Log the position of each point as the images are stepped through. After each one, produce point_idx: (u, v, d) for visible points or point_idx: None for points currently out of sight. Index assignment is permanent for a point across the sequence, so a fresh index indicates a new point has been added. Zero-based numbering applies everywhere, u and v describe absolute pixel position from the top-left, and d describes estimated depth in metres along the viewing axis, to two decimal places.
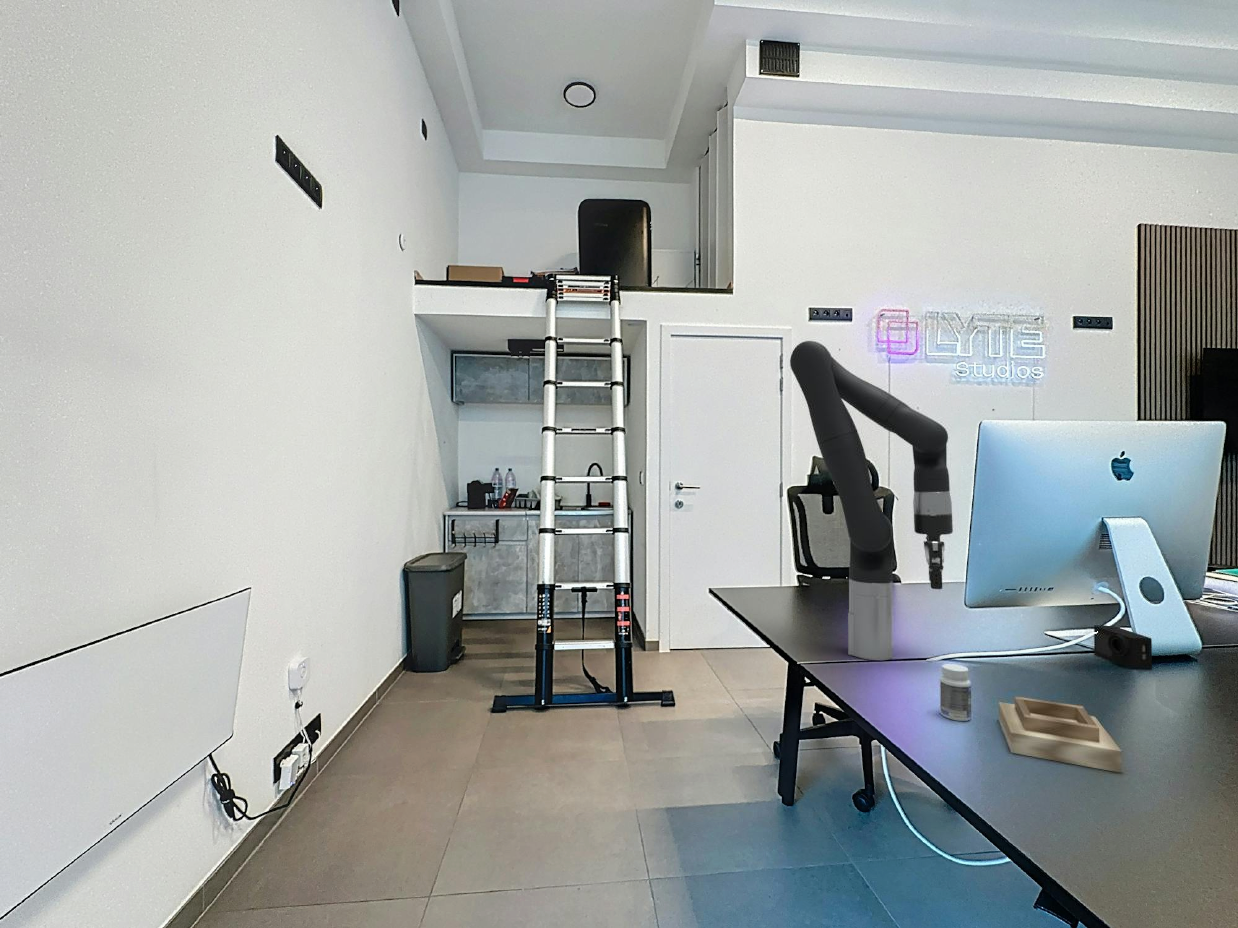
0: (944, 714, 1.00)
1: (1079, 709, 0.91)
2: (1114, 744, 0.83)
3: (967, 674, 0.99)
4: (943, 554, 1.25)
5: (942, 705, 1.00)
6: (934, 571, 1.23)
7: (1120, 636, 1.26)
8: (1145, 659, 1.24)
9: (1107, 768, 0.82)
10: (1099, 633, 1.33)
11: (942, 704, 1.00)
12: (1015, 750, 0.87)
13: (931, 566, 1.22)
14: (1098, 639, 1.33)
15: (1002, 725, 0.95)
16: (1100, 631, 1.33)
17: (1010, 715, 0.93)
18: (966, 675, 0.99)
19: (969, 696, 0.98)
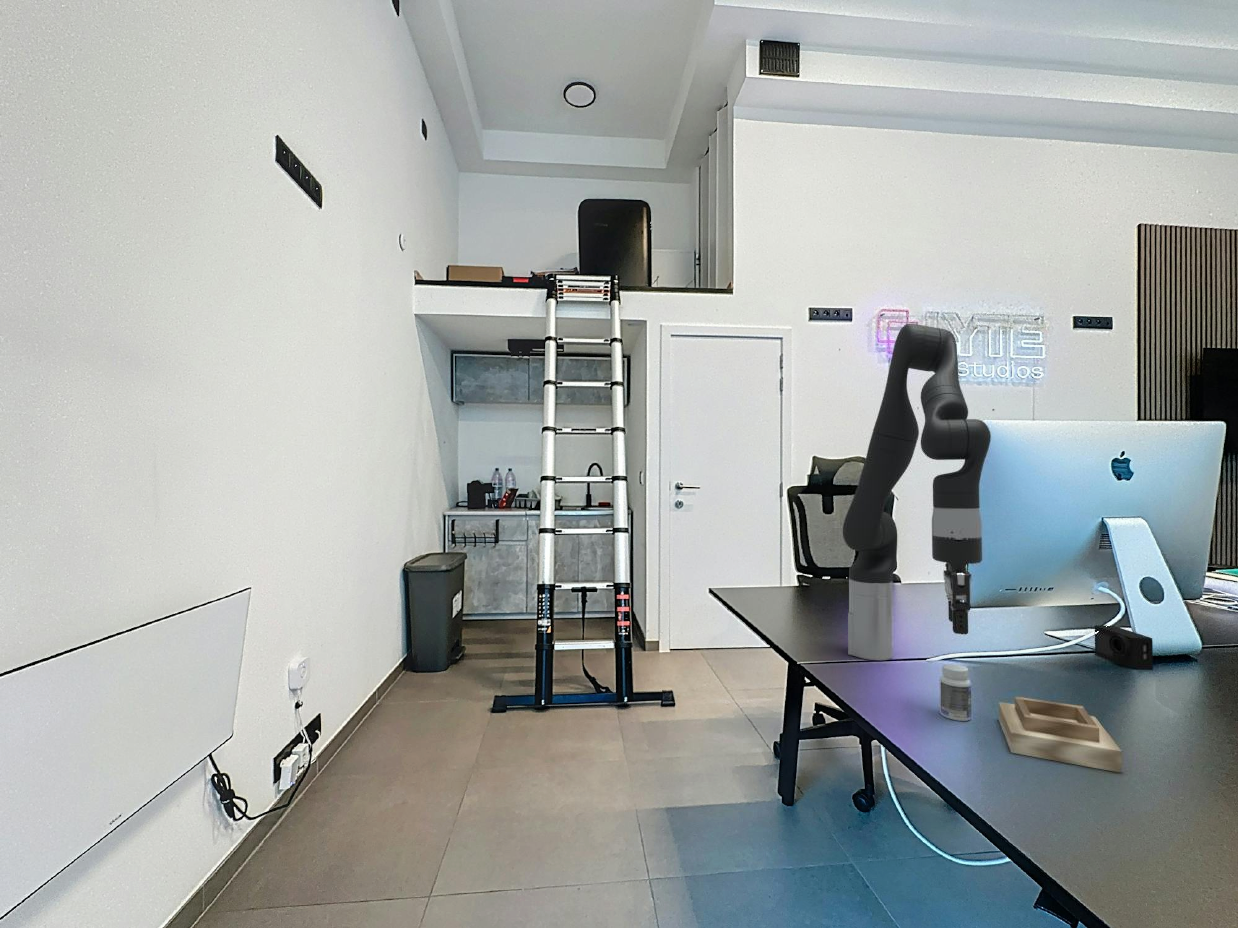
0: (944, 714, 1.00)
1: (1079, 709, 0.91)
2: (1114, 744, 0.83)
3: (967, 674, 0.99)
4: (970, 589, 0.97)
5: (942, 705, 1.00)
6: (958, 611, 0.96)
7: (1121, 636, 1.26)
8: (1146, 659, 1.24)
9: (1107, 768, 0.82)
10: (1100, 633, 1.33)
11: (942, 704, 1.00)
12: (1015, 750, 0.87)
13: (955, 605, 0.95)
14: (1099, 639, 1.33)
15: (1002, 725, 0.95)
16: (1101, 631, 1.33)
17: (1010, 715, 0.93)
18: (966, 675, 0.99)
19: (969, 696, 0.98)
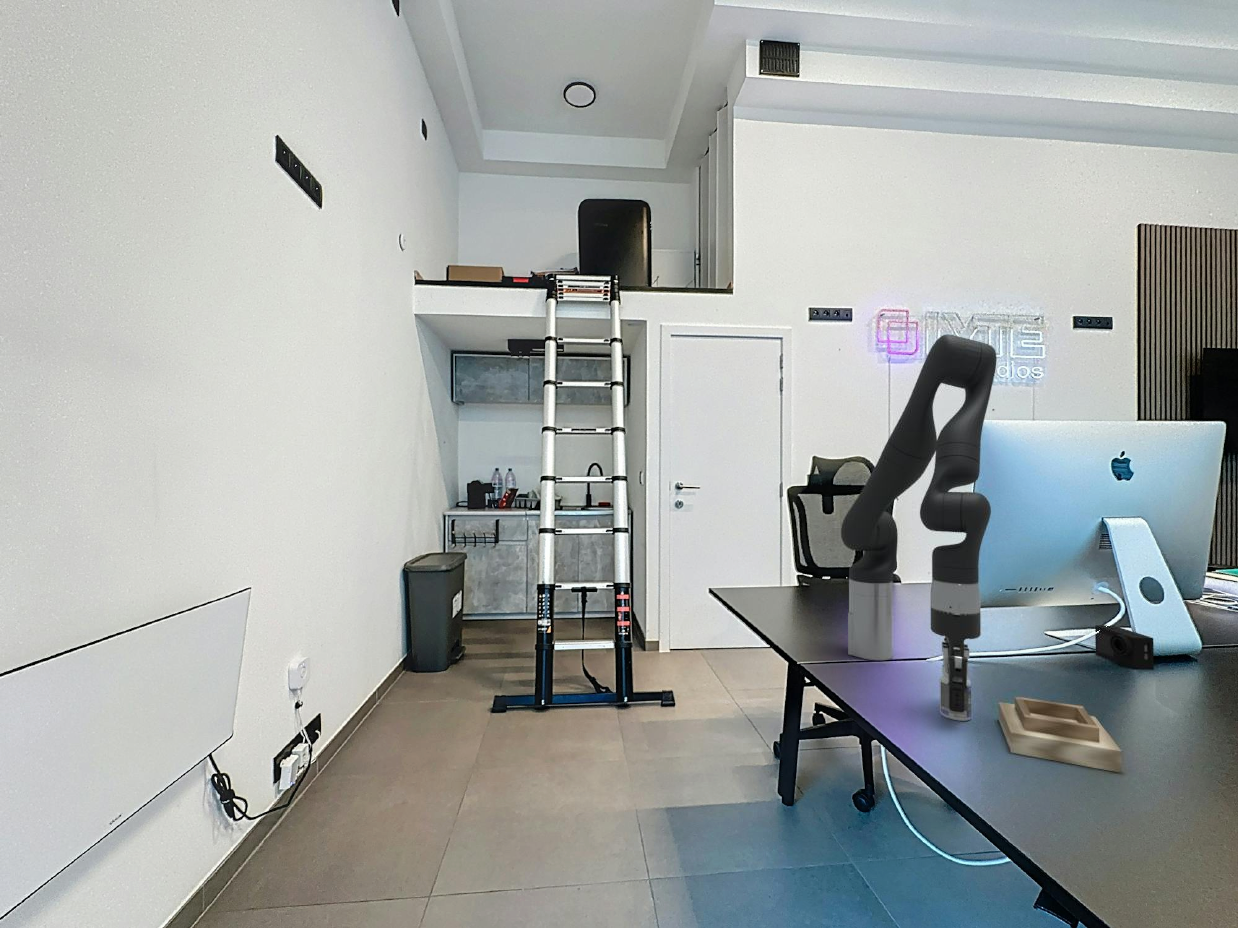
0: (944, 714, 1.00)
1: (1079, 709, 0.91)
2: (1114, 744, 0.83)
3: None
4: (967, 667, 0.97)
5: (942, 705, 1.00)
6: (955, 690, 0.97)
7: (1122, 636, 1.26)
8: (1147, 659, 1.25)
9: (1107, 768, 0.82)
10: (1100, 633, 1.33)
11: (942, 704, 1.00)
12: (1015, 750, 0.87)
13: (951, 686, 0.96)
14: (1099, 639, 1.33)
15: (1002, 725, 0.95)
16: (1102, 631, 1.33)
17: (1010, 715, 0.93)
18: None
19: (969, 696, 0.98)
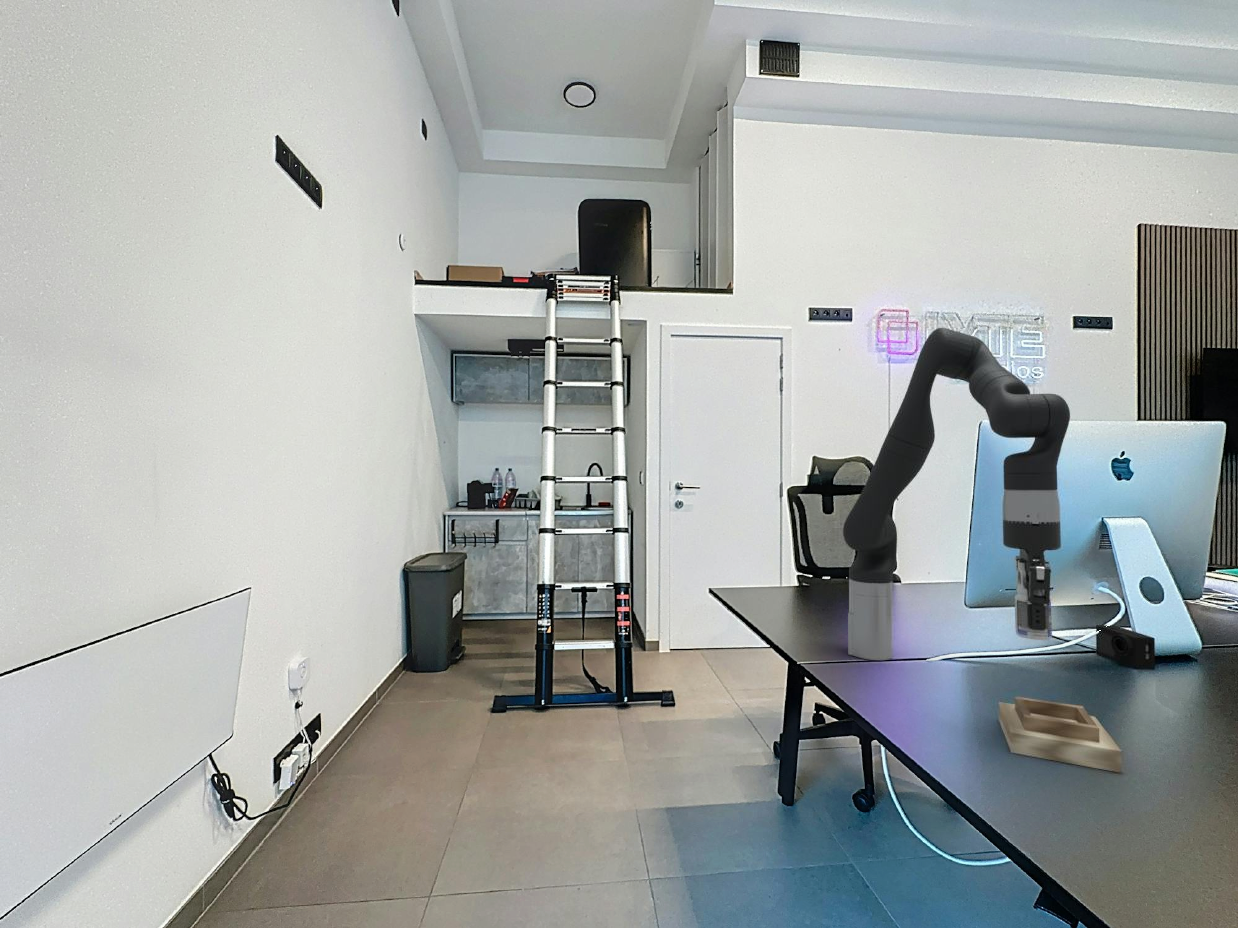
0: (1022, 634, 0.92)
1: (1079, 709, 0.91)
2: (1114, 744, 0.83)
3: None
4: None
5: (1019, 625, 0.92)
6: (1035, 605, 0.89)
7: (1123, 636, 1.27)
8: (1148, 659, 1.25)
9: (1107, 768, 0.82)
10: (1101, 633, 1.33)
11: (1019, 624, 0.92)
12: (1015, 750, 0.87)
13: (1032, 600, 0.88)
14: (1100, 639, 1.33)
15: (1002, 725, 0.95)
16: (1103, 631, 1.33)
17: (1010, 715, 0.93)
18: None
19: (1050, 613, 0.90)
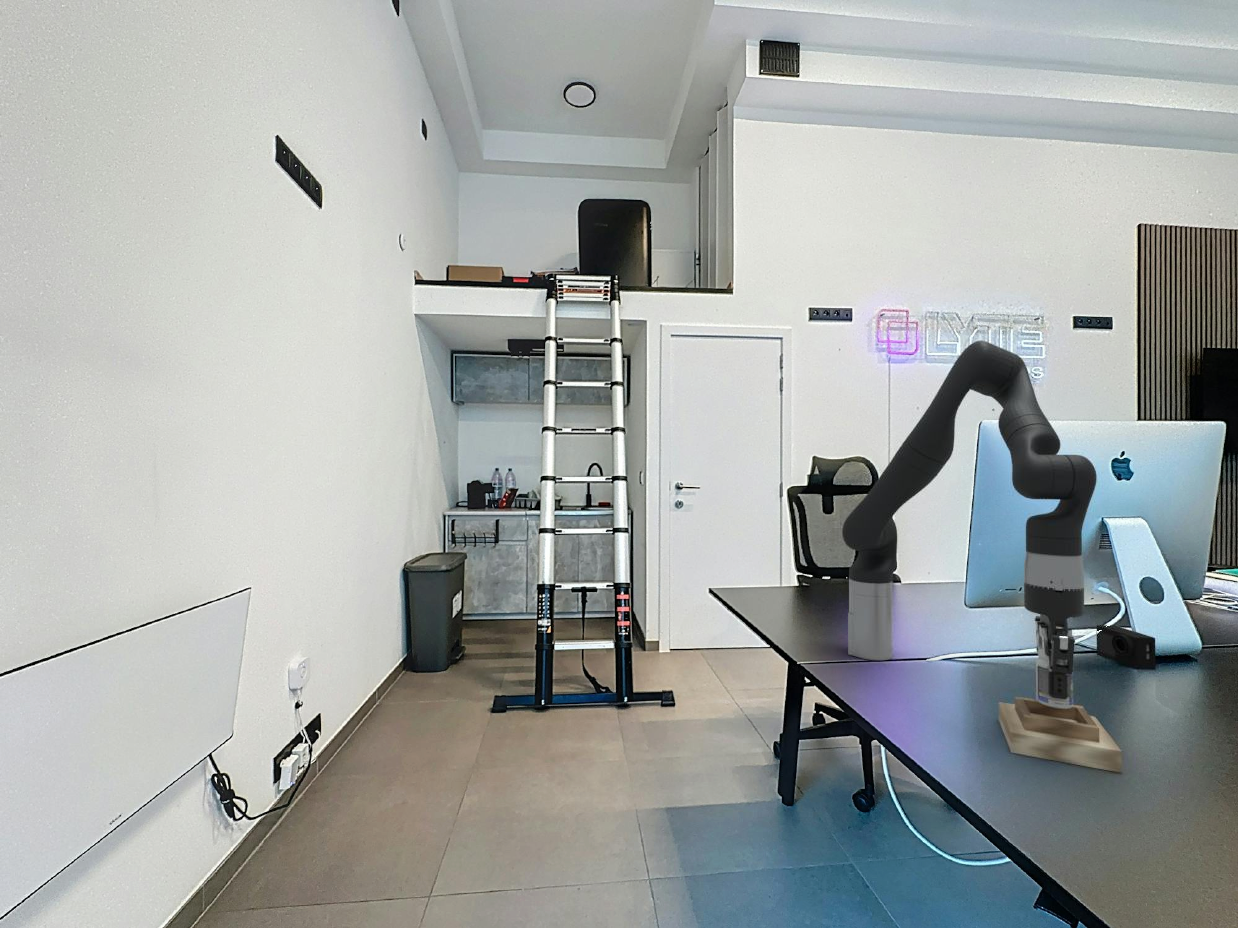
0: (1042, 701, 0.90)
1: (1079, 709, 0.91)
2: (1114, 744, 0.83)
3: None
4: None
5: (1040, 691, 0.90)
6: (1057, 674, 0.87)
7: (1124, 636, 1.27)
8: (1149, 659, 1.25)
9: (1107, 768, 0.82)
10: (1102, 633, 1.33)
11: (1040, 690, 0.90)
12: (1015, 750, 0.87)
13: (1055, 669, 0.86)
14: (1101, 639, 1.33)
15: (1002, 725, 0.95)
16: (1103, 631, 1.33)
17: (1010, 715, 0.93)
18: None
19: (1071, 681, 0.88)
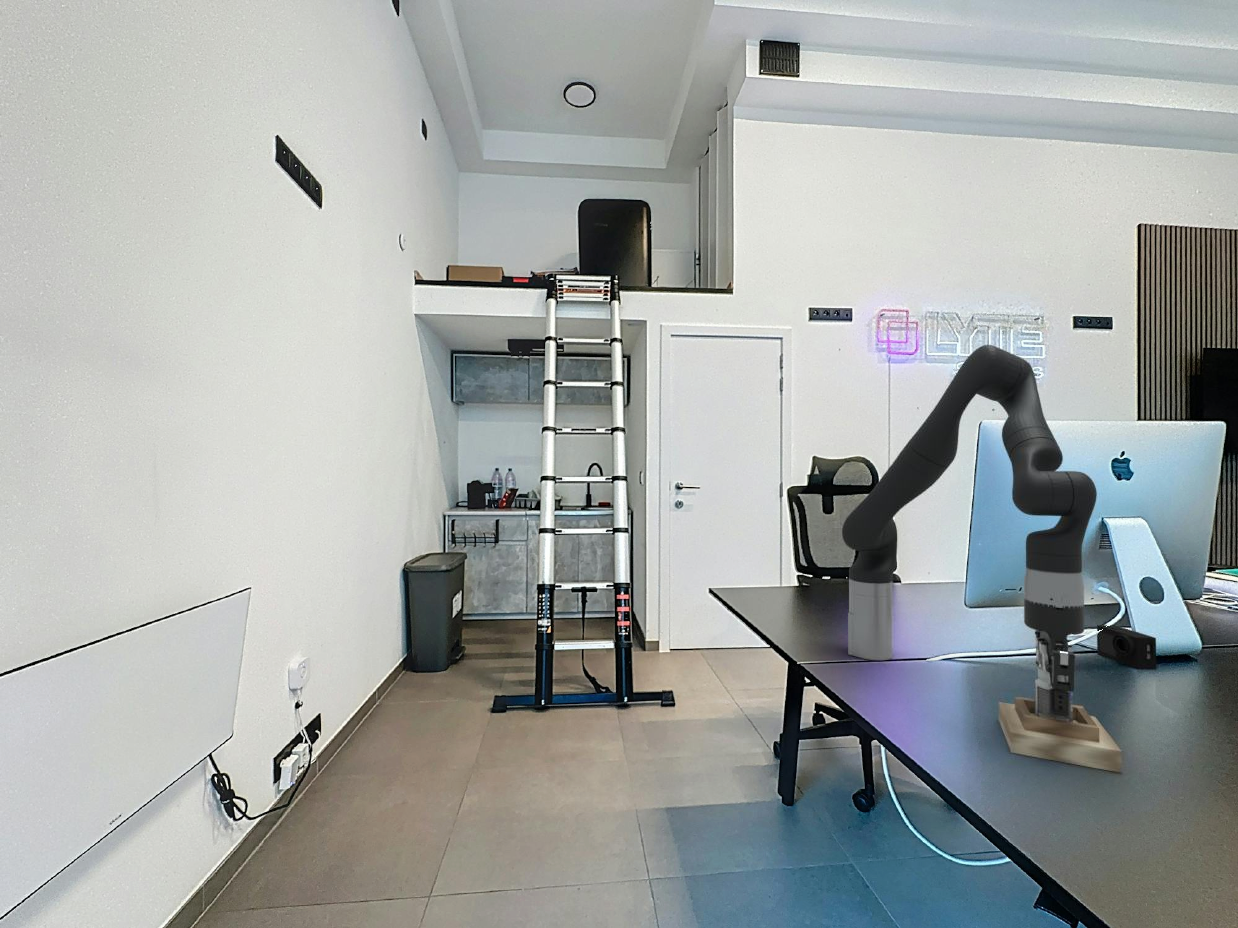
0: None
1: (1079, 709, 0.91)
2: (1114, 744, 0.83)
3: None
4: None
5: (1039, 712, 0.90)
6: (1058, 691, 0.86)
7: (1125, 636, 1.27)
8: (1150, 659, 1.25)
9: (1107, 768, 0.82)
10: (1102, 633, 1.33)
11: (1040, 711, 0.90)
12: (1015, 750, 0.87)
13: (1056, 686, 0.85)
14: (1101, 639, 1.33)
15: (1002, 725, 0.95)
16: (1104, 631, 1.33)
17: (1010, 715, 0.93)
18: None
19: (1071, 702, 0.88)
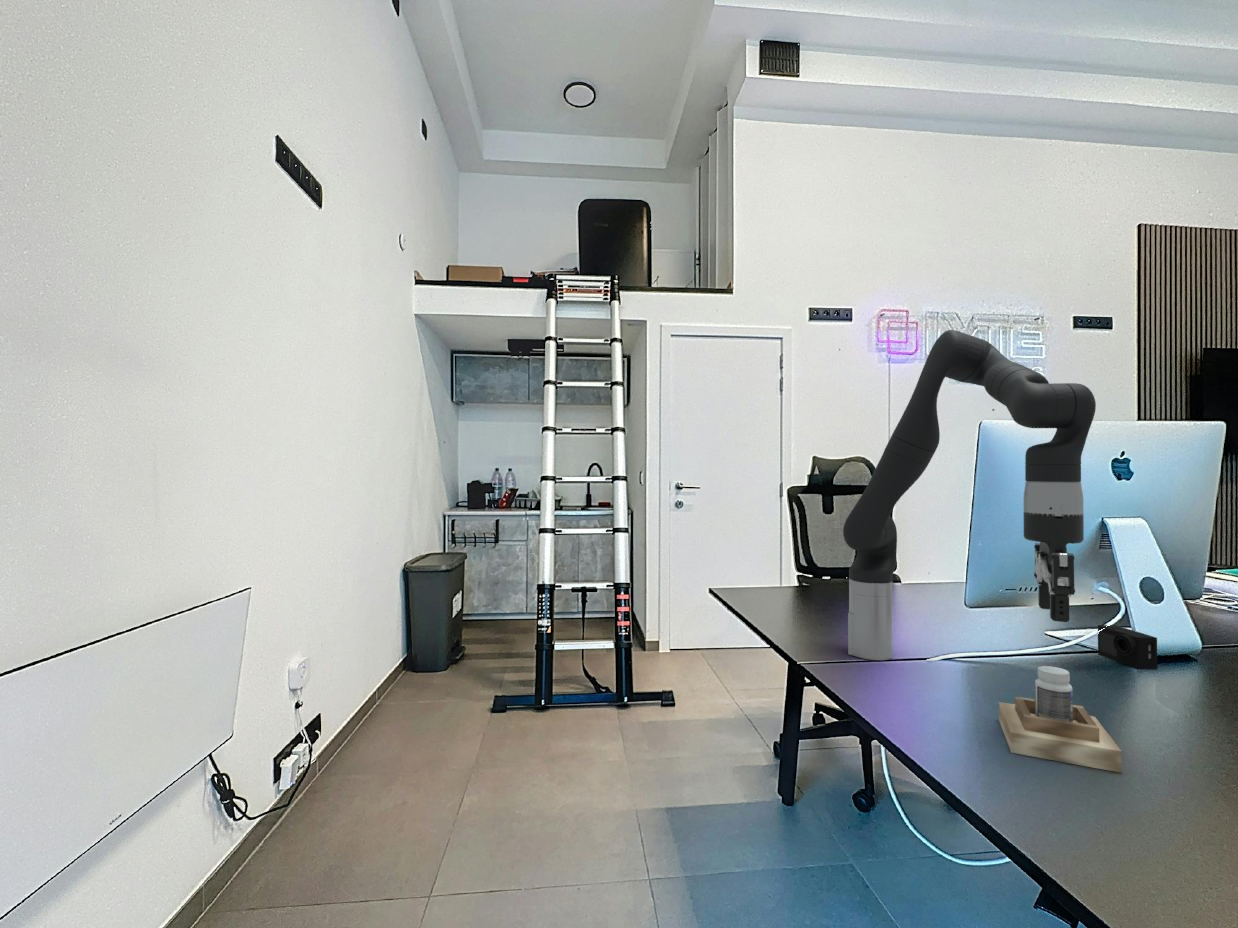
0: None
1: (1079, 709, 0.91)
2: (1114, 744, 0.83)
3: (1068, 678, 0.89)
4: None
5: (1039, 712, 0.90)
6: (1059, 596, 0.86)
7: (1126, 636, 1.27)
8: (1151, 658, 1.25)
9: (1107, 768, 0.82)
10: (1103, 633, 1.33)
11: (1040, 711, 0.90)
12: (1015, 750, 0.87)
13: (1056, 589, 0.84)
14: (1102, 639, 1.34)
15: (1002, 725, 0.95)
16: (1105, 631, 1.33)
17: (1010, 715, 0.93)
18: (1067, 679, 0.89)
19: (1071, 702, 0.88)
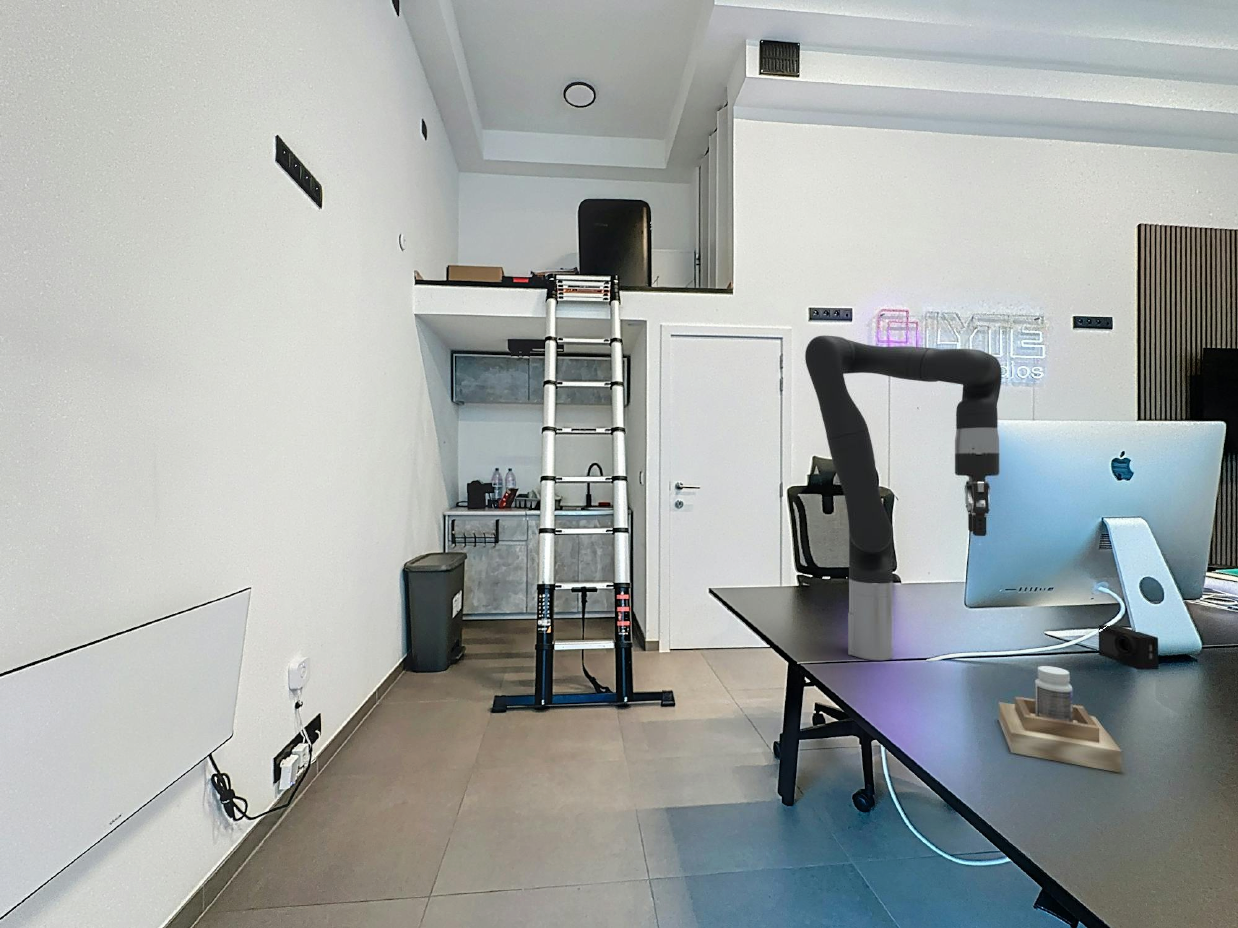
0: None
1: (1079, 709, 0.91)
2: (1114, 744, 0.83)
3: (1068, 678, 0.89)
4: (988, 497, 1.11)
5: (1039, 712, 0.90)
6: (978, 515, 1.10)
7: (1127, 636, 1.27)
8: (1152, 658, 1.25)
9: (1107, 768, 0.82)
10: (1104, 633, 1.33)
11: (1040, 711, 0.90)
12: (1015, 750, 0.87)
13: (975, 509, 1.09)
14: (1103, 639, 1.34)
15: (1002, 725, 0.95)
16: (1105, 631, 1.33)
17: (1010, 715, 0.93)
18: (1067, 679, 0.89)
19: (1071, 702, 0.88)
